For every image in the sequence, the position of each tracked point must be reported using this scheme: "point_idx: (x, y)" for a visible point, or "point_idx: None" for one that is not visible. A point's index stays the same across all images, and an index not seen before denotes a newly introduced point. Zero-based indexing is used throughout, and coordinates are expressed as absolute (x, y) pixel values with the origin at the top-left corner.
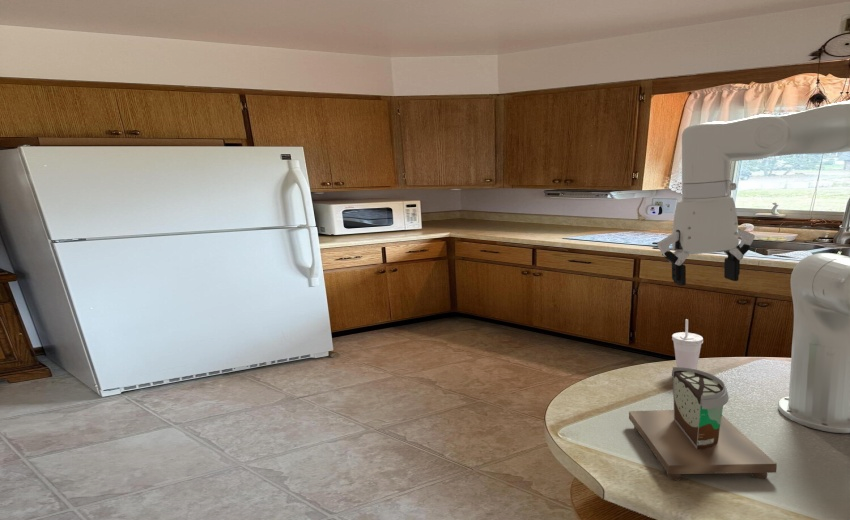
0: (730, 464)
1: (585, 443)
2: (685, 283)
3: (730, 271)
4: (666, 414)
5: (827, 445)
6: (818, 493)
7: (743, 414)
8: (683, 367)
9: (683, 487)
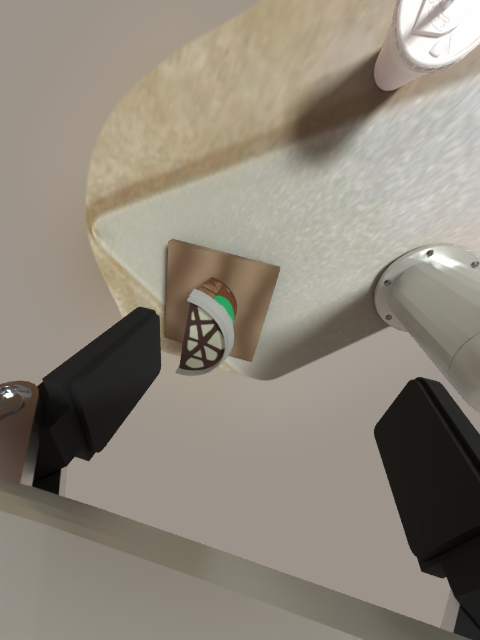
0: None
1: (119, 257)
2: (157, 374)
3: (403, 453)
4: (210, 263)
5: (352, 332)
6: (271, 368)
7: (336, 255)
8: (201, 307)
9: None
